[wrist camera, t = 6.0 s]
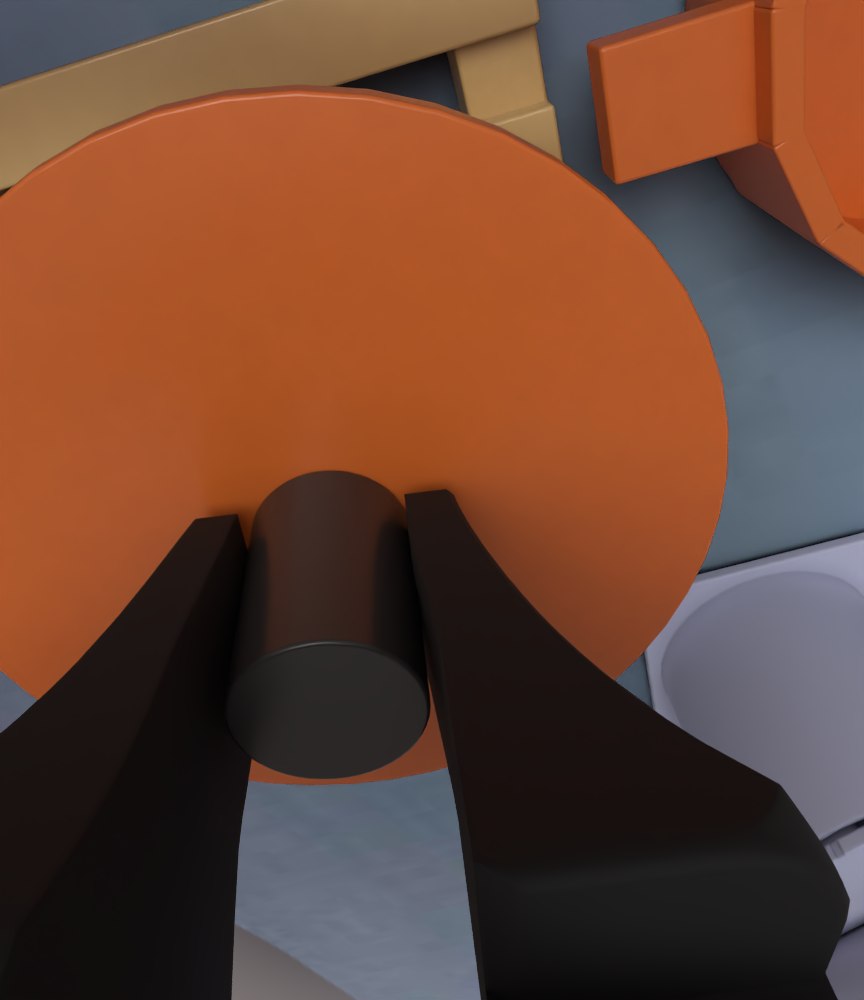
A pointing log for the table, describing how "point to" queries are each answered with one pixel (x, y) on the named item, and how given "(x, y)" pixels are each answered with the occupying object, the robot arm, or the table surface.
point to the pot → (746, 107)
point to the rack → (287, 67)
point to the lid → (340, 401)
